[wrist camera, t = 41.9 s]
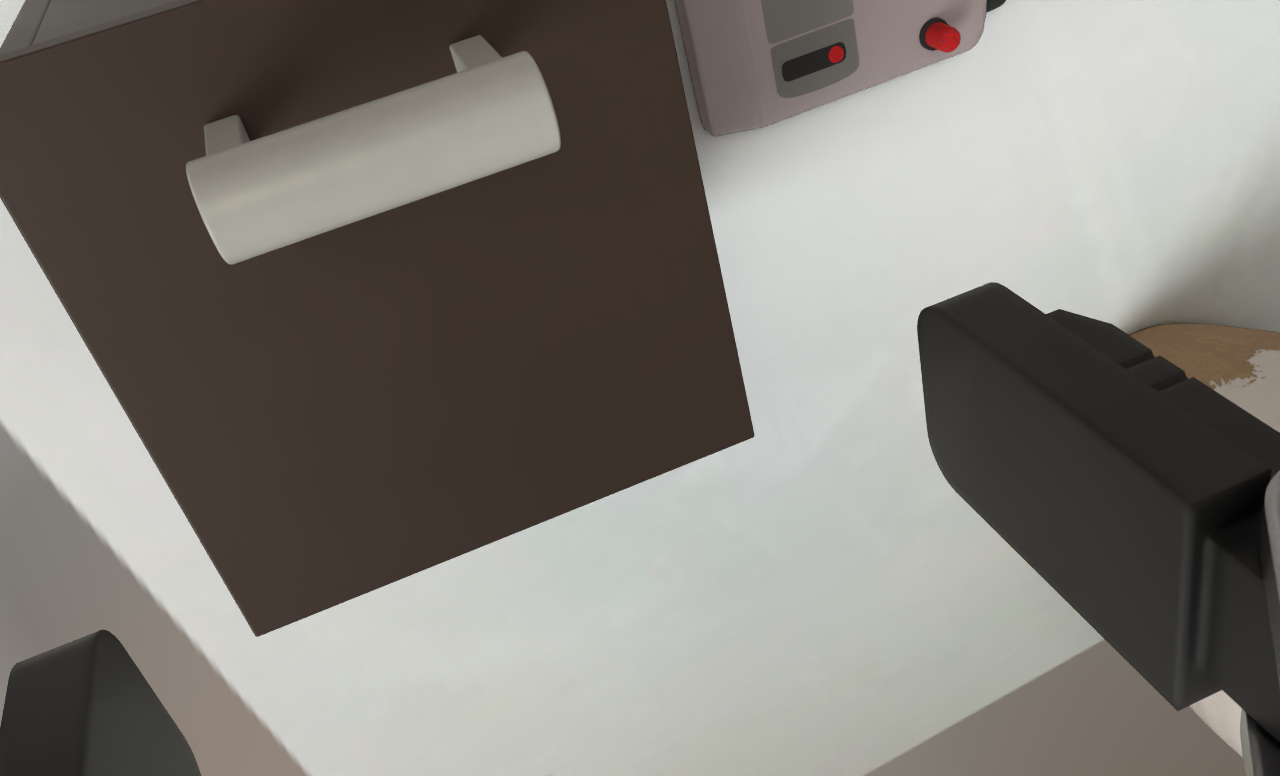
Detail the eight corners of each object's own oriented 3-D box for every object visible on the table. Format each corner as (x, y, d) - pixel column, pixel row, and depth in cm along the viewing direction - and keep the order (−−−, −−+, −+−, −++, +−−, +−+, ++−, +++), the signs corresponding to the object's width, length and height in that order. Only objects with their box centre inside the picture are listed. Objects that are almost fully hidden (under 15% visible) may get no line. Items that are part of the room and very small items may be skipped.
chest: (28, -10, 31) (-37, 112, 22) (502, -152, 34) (634, -99, 24) (234, 394, 39) (254, 619, 29) (610, 256, 41) (744, 423, 31)
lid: (-62, 72, 21) (-124, 171, 17) (627, -139, 23) (735, -103, 19) (254, 620, 29) (269, 785, 25) (744, 423, 31) (840, 543, 27)
